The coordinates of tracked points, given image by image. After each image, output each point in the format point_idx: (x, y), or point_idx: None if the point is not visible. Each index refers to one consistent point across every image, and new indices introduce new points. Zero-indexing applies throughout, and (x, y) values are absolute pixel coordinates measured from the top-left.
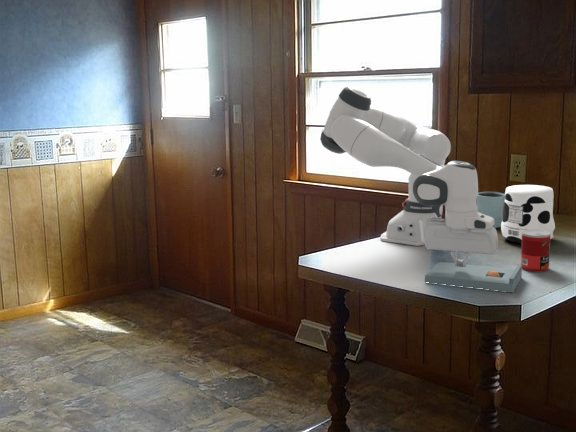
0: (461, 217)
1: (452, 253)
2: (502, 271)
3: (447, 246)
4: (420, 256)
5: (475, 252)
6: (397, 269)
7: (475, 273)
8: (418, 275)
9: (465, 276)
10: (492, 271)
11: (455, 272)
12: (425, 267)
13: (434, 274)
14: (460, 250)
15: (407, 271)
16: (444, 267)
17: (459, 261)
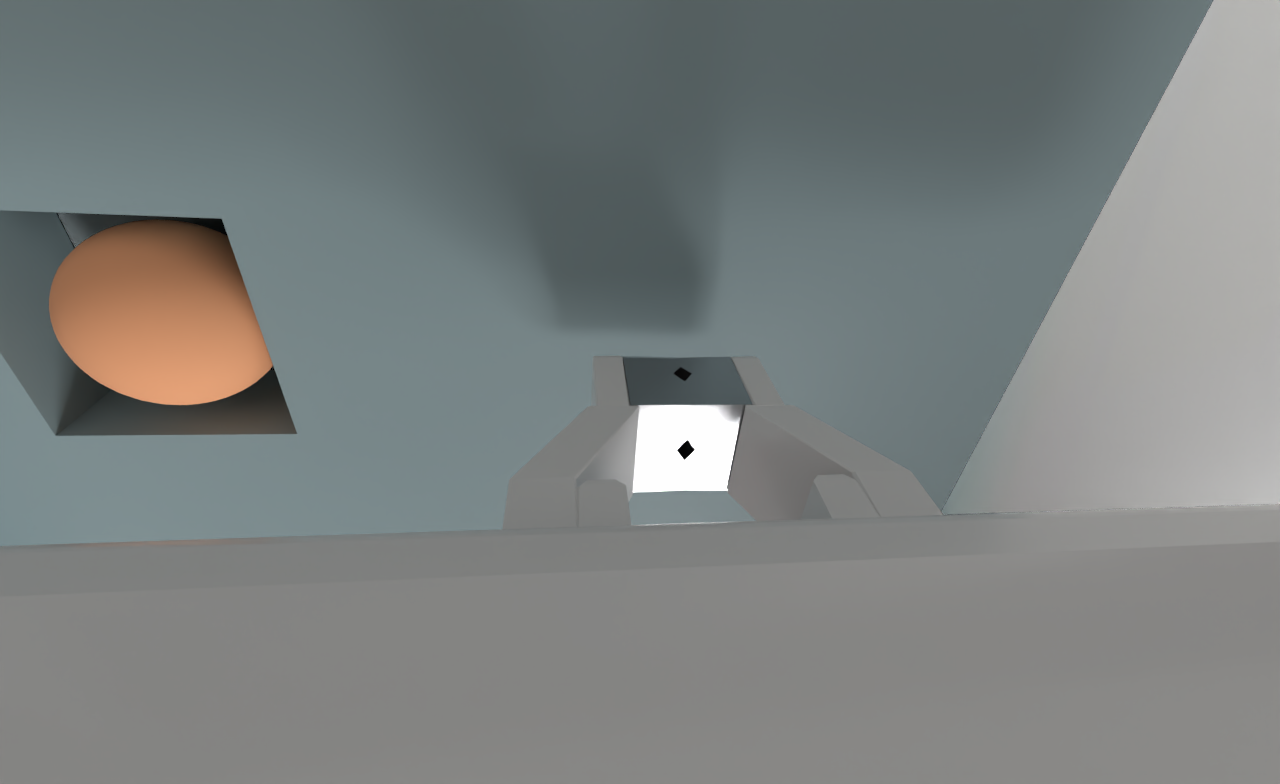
0: None
1: (895, 493)
2: (136, 482)
3: (1183, 608)
4: None
5: (245, 546)
6: (1254, 399)
7: (425, 300)
8: (1102, 288)
9: (522, 80)
10: (129, 344)
11: (718, 257)
12: (982, 512)
13: (1058, 38)
14: (736, 544)
15: (1178, 374)
16: (866, 416)
17: (698, 402)
